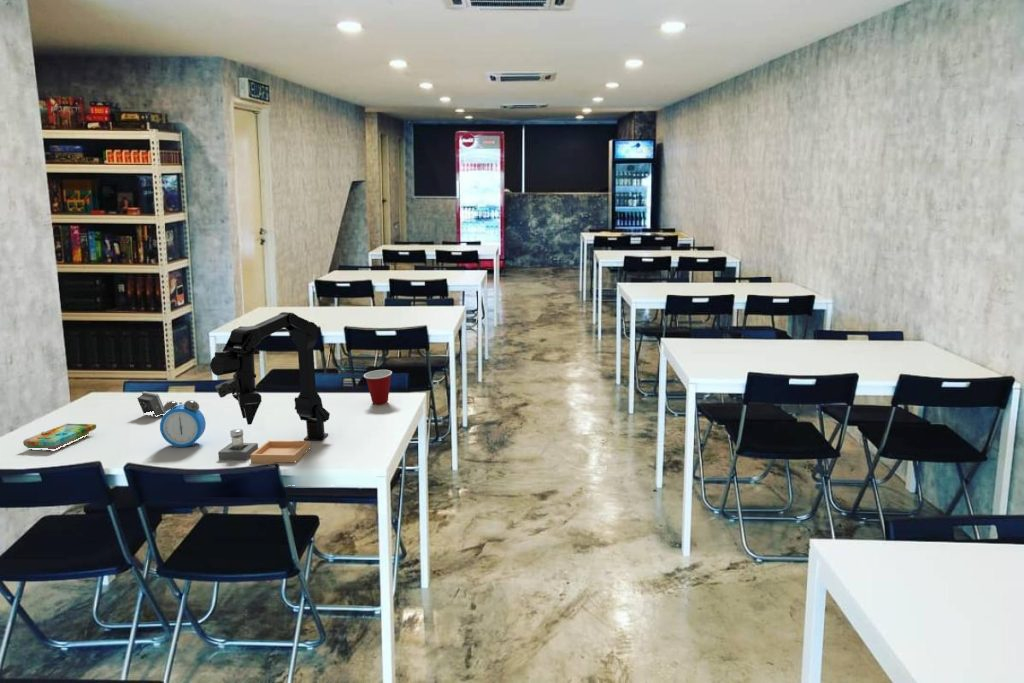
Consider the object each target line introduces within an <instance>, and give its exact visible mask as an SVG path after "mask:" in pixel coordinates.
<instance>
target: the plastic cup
mask: <svg viewBox="0 0 1024 683" xmlns="http://www.w3.org/2000/svg"><path fill="white" fill-rule="evenodd" d="M392 374H393V371H392V370H389V369H377V370H376V369H375V370H371V371H368V372H366V373H364V374H363V377H364V379H365V380H366V383H367V387H368V391H369V395H370V398H371V403H372V405H375V404H376V405H378V406H381V404H382V405H386V404H388V401H389V394H390V385H391V378H392V377H391V376H392Z"/></svg>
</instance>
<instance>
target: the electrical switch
mask: <svg viewBox="0 0 1024 683" xmlns="http://www.w3.org/2000/svg"><path fill="white" fill-rule="evenodd" d="M136 399H137V402H138V404H139V405H140V408H141V411H142V413H143V414H144V413H146V412H150V411H151V412H152V411H154V413H155V415H156V416H157V415H160V414H165V413H167V411H166V412H164V411H163V407H164V404H163V402H162V400H161V397H160V395H159V394H158V393H155V392H149V391H142V392H141V395H140V396H137V397H136Z"/></svg>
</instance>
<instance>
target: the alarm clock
mask: <svg viewBox="0 0 1024 683" xmlns="http://www.w3.org/2000/svg"><path fill="white" fill-rule="evenodd" d="M163 411H164V412H166V414H165V415H164V416H162V417H161V420H160V423H159V430H160V431H159V432H160V434H161V436H162V438H163V439H164V440H165V441H166V442H167V443H168V444H170V445H171V448H174V447H177V448H178V447H179V448H183V447H184V448H185V447H189V446H192V447H194V446H195V442H197V440H199V439H200V438H201V437H202V436H203V434H204V432H205V430H206V424H207V423H206V418H205V416H204V414H203V413H202V411H201V410H200V404H199V403H198V402H197V401H196V400H192V399H191V400H189V399H188V400H186V401H185V402H184V403H183V402H176V401H174V400H171V401H166V403H165V404H163Z"/></svg>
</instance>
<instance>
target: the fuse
mask: <svg viewBox="0 0 1024 683" xmlns="http://www.w3.org/2000/svg"><path fill="white" fill-rule="evenodd" d="M229 432H230V437H231V443H232V447H233V450H243V449H244V443H245V442H244V430H243V429H242V428H236V429H232V430H230V431H229Z"/></svg>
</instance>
